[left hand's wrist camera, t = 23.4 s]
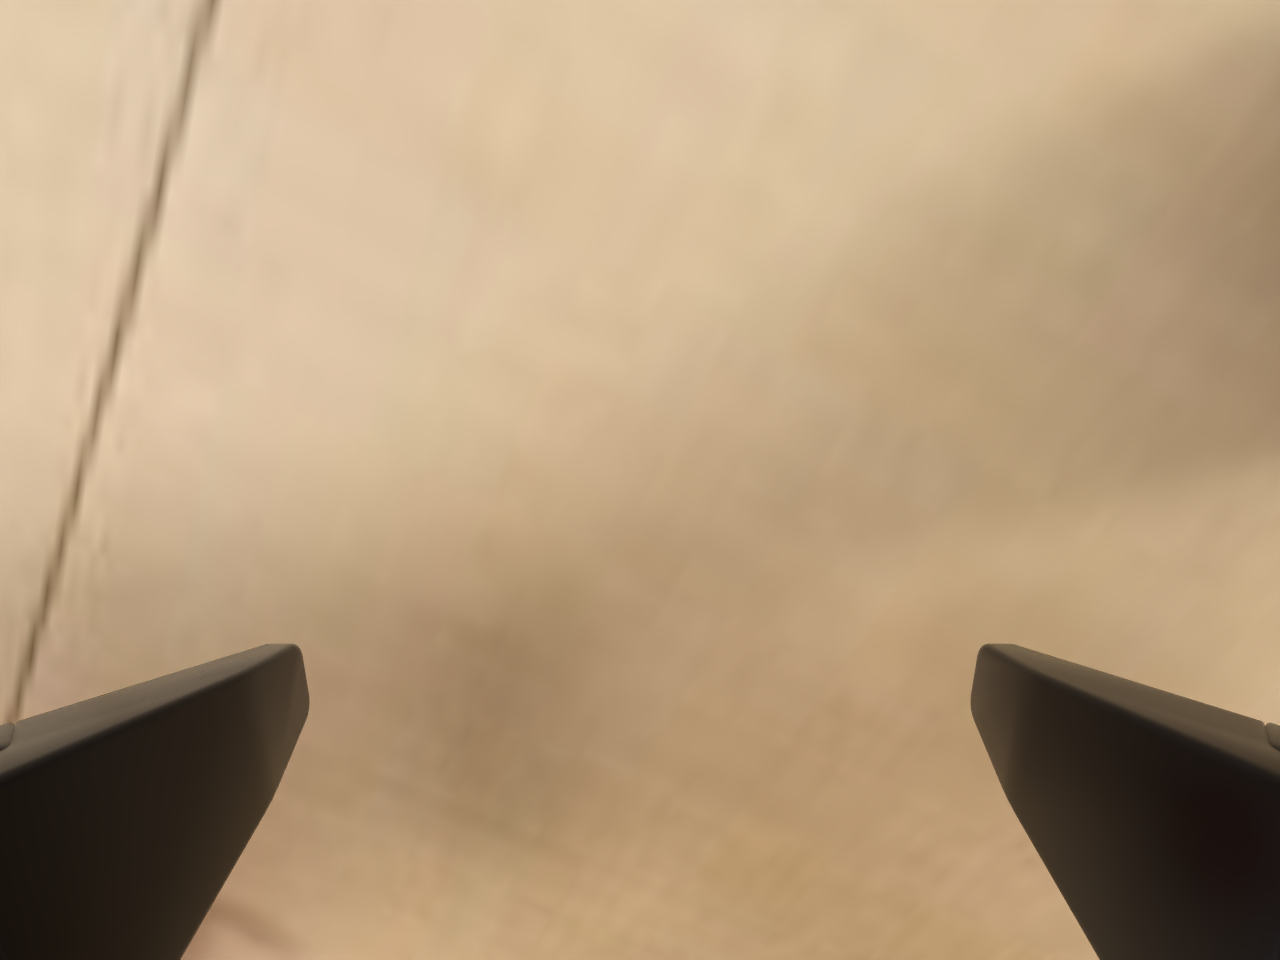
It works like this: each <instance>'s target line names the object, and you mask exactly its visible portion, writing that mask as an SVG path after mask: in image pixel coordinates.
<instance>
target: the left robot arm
mask: <svg viewBox="0 0 1280 960" xmlns="http://www.w3.org/2000/svg"><path fill="white" fill-rule="evenodd" d="M308 711H309V693H308V687H307V680H306V674H305V668H304V662H303V656H302V653H301V650H300V648H299V647H298V646H297V645H295V644H266V645H263V646H259V647H256V648H253V649H250V650H247V651H243V652H240V653H237V654H234V655H230V656H227V657H224V658H221V659H218V660H214V661H211V662H208V663H205V664H201V665H198V666H195V667H192V668H188V669H185V670H182V671H179V672H176V673H172V674H169V675H166V676H163V677H159V678H156V679H153V680H150V681H147V682H143V683H140V684H137V685H134V686H130V687H127V688H124V689H121V690H117V691H114V692H111V693H108V694H105V695H101V696H98V697H95V698H92V699H88V700H85V701H82V702H79V703H76V704H72V705H69V706H66V707H63V708H59V709H56V710H53V711H50V712H46V713H43V714H40V715H37V716H34V717H30V718H27V719H24V720H21V721H18V722H17V723H16V725H15V726H14V724H13V723H7V724H4V725H1V726H0V960H180V959H181V957H182V956H183V954H184V952H185V951H186V949H187V947H188V945H189V944H190V942H191V940H192V938H193V937H194V935H195V933H196V932H197V930H198V928H199V926H200V925H201V923H202V921H203V919H204V918H205V916H206V914H207V912H208V911H209V909H210V907H211V906H212V904H213V902H214V900H215V899H216V897H217V895H218V893H219V892H220V890H221V888H222V886H223V885H224V883H225V881H226V880H227V878H228V876H229V874H230V873H231V871H232V869H233V867H234V866H235V864H236V862H237V860H238V859H239V857H240V855H241V854H242V852H243V850H244V848H245V847H246V845H247V843H248V841H249V840H250V838H251V836H252V835H253V833H254V831H255V829H256V828H257V826H258V824H259V822H260V821H261V819H262V817H263V815H264V814H265V812H266V810H267V808H268V806H269V804H270V803H271V801H272V799H273V797H274V794H275V792H276V790H277V788H278V786H279V783H280V781H281V779H282V776H283V774H284V771H285V769H286V767H287V764H288V762H289V759H290V757H291V755H292V752H293V750H294V747H295V745H296V743H297V740H298V738H299V735H300V733H301V731H302V728H303V726H304V723H305V721H306V718H307V715H308ZM971 711H972V715H973V718H974V721H975V723H976V726H977V728H978V731H979V733H980V735H981V738H982V740H983V743H984V745H985V747H986V750H987V752H988V755H989V757H990V759H991V762H992V764H993V767H994V769H995V771H996V774H997V776H998V779H999V781H1000V783H1001V786H1002V788H1003V790H1004V792H1005V794H1006V797H1007V799H1008V801H1009V803H1010V804H1011V806H1012V808H1013V810H1014V812H1015V814H1016V815H1017V817H1018V819H1019V821H1020V822H1021V824H1022V826H1023V828H1024V829H1025V831H1026V833H1027V835H1028V836H1029V838H1030V840H1031V841H1032V843H1033V845H1034V847H1035V848H1036V850H1037V852H1038V854H1039V855H1040V857H1041V859H1042V861H1043V862H1044V864H1045V866H1046V867H1047V869H1048V871H1049V873H1050V874H1051V876H1052V878H1053V880H1054V881H1055V883H1056V885H1057V886H1058V888H1059V890H1060V892H1061V893H1062V895H1063V897H1064V899H1065V900H1066V902H1067V904H1068V906H1069V907H1070V909H1071V911H1072V912H1073V914H1074V916H1075V918H1076V919H1077V921H1078V923H1079V925H1080V926H1081V928H1082V930H1083V932H1084V933H1085V935H1086V937H1087V938H1088V940H1089V942H1090V944H1091V945H1092V947H1093V949H1094V951H1095V952H1096V954H1097V956H1098V958H1099V959H1100V960H1280V726H1279V725H1276V724H1273V723H1267V724H1266V726H1265V725H1264V723H1263V722H1262V721H1259V720H1256V719H1253V718H1250V717H1246V716H1243V715H1240V714H1237V713H1234V712H1230V711H1227V710H1224V709H1221V708H1217V707H1214V706H1211V705H1208V704H1204V703H1201V702H1198V701H1195V700H1192V699H1188V698H1185V697H1182V696H1179V695H1175V694H1172V693H1169V692H1166V691H1163V690H1159V689H1156V688H1153V687H1150V686H1146V685H1143V684H1140V683H1137V682H1133V681H1130V680H1127V679H1124V678H1121V677H1117V676H1114V675H1111V674H1108V673H1104V672H1101V671H1098V670H1095V669H1092V668H1088V667H1085V666H1082V665H1079V664H1075V663H1072V662H1069V661H1066V660H1062V659H1059V658H1056V657H1053V656H1050V655H1046V654H1043V653H1040V652H1037V651H1033V650H1030V649H1027V648H1024V647H1020V646H1017V645H1014V644H985V645H983V646H982V647H981V648H980V650H979V653H978V656H977V662H976V668H975V674H974V680H973V687H972V693H971Z"/></svg>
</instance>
